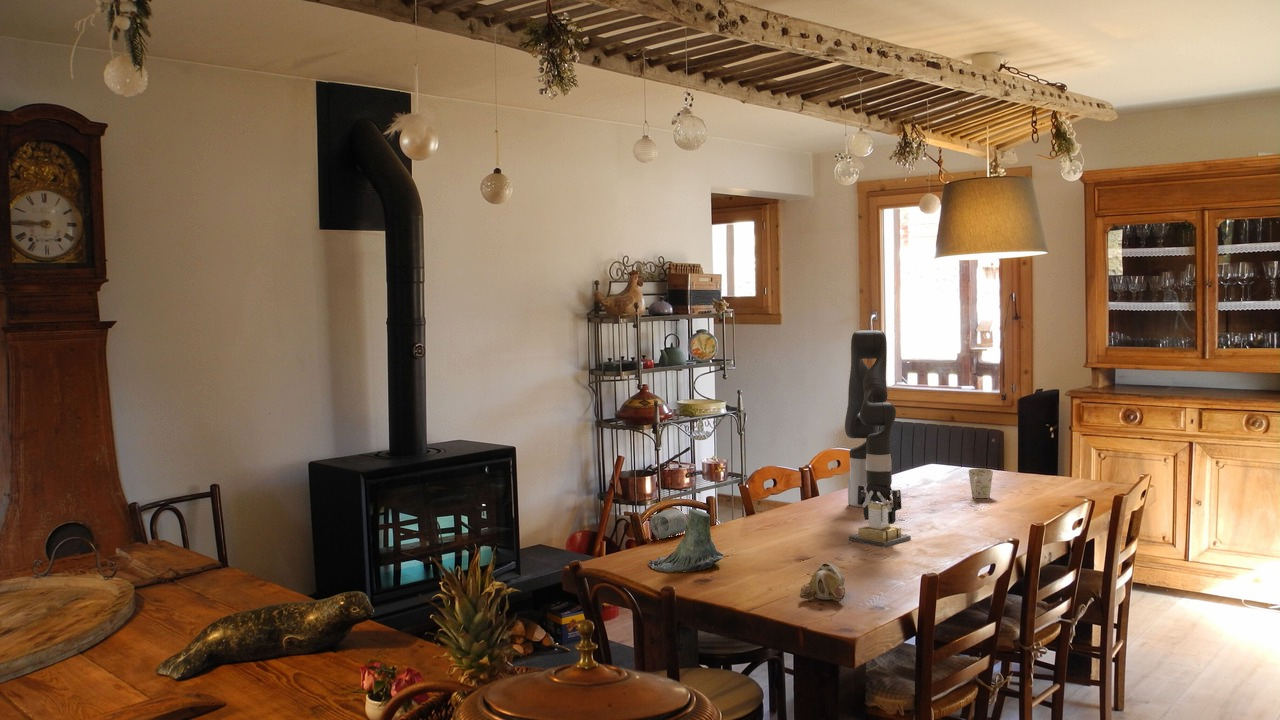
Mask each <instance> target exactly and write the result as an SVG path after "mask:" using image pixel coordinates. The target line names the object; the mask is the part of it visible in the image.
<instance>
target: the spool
mask: <svg viewBox="0 0 1280 720" xmlns="http://www.w3.org/2000/svg"><path fill="white" fill-rule="evenodd" d="M687 520H688V519H687V517H686V515H685V513H684V512H683V511H681V510H680V509H676V508H672V509H671V508H670V509H666V510H663V511H660V512H659V513H657V514H654V515H652V517H651V518H650V521H649V526H650V530H651V531H652V533H653V535H654V536H655V537H656V538H658V539H660V540H664V539H666V538H669V537H671V536H672V537H673V536H676V535H679V534H682V533H685V530H686V528H685V525H686V524H687Z"/></svg>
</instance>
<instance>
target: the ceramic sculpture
mask: <svg viewBox="0 0 1280 720" xmlns="http://www.w3.org/2000/svg"><path fill="white" fill-rule="evenodd" d="M845 581H846V579H845V576H844V575H843V573H842V572H841V570H840V569H839V567H838V566H837V565H835V564H834V563H833V561H829V562H828V563H822V564H821V565H820V566H818V569H816V570H815V571H814V572H813V574H812V576H811V578H810V581H809V583H805V584H803V586H801V588H800V593H799V597H800V598H801V599H803V600H804V599H805V600H810V599H812V598H813V597H815V598H817V599H818V600H824V601H830V600H832V601H835V602H840V601H842V600H843V599H844V597H845V594H846V591H845V590H846V588H845V587H844V585H845Z"/></svg>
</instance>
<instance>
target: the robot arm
mask: <svg viewBox="0 0 1280 720" xmlns="http://www.w3.org/2000/svg"><path fill="white" fill-rule="evenodd" d="M887 343H888V342H887V337H886V334H885V332H884V331H883V330H875V329H874V330H871V329H870V330H866V329H864V330H856V331H854V332H853V333H852V337H851V340H850V370H849V371H850V372H849V380H848V391H847V392H848V393H847V394H848V396H847V397H848V401H847V407H846V413H845V422H844V431H845V435H846V436H847V437H848V438H849V439H865V441H864V443H862V444H859V445H858V446H854V447H852V448H851V449H850V450H849V477H848V478H847V504H848V505H849V504H850V506H851V507H855V508H863V517H864V520H865V521H869V508H868V503H872V502H876V501H877V502H880V503H882V502H883V504H884V505H885V506H886V507H887V509H888V510H889V512H888V524H890V525H893V524H895V522H896V521H897V520H896V517H897V516H896V511H899V510H902V508H903V507H902V496H901V495H902V493H901V490H900V489H892V486H891V485H892V484H893V483H892V482H893V480H892V473H893V472H892V458H891V437H892V433H893V427H894V424H895V421H896V416H897V410H896V407H895V405H894V404H893V403H891V402H887V400H888V395H889V394H888V387H887V380H886V379H887V378H886V377H887V361H888V359H887V356H888V355H887V354H888V353H887V352H888V349H887V347H888V346H887ZM865 359H866V360H867V359H869V360H870V359H871V360H872V359H873V360H875V361H874V363H873V364H872V366H871V367H869V366H868V365H867V364H866V363H865V362H864V360H865ZM878 426H879V427H882V426H883V428H882V429H881V430H880V431H878V432H877V427H878Z"/></svg>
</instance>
